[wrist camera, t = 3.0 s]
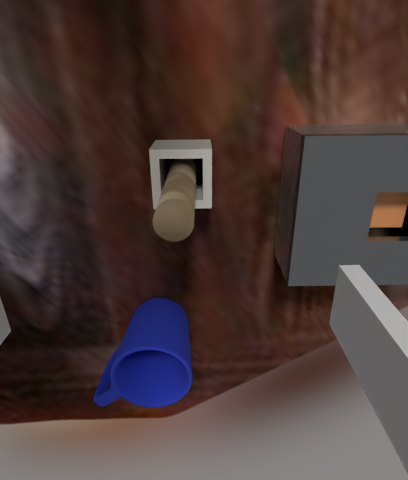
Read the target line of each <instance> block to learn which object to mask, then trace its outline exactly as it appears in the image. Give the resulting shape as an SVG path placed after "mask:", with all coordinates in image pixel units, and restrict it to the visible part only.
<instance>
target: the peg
mask: <svg viewBox="0 0 408 480" xmlns="http://www.w3.org/2000/svg"><path fill="white" fill-rule="evenodd" d="M196 173H197V167H196V164H195V162H194V161H193V160H192V159H175V160H174V161H173V162H172V164H171V167H170V170H169V173H168V176H167V178H166V181H165V184H164V187H163V190H162V193H161V196H160V199H159V202H158V205H157V208H156V211H155V214H154V217H153V227H154V230H155V231H156V233H157V234H158V235H159V236H160V237H161V238H163V239H165V240H167V241H172V242H176V241H181V240H183V239H185V238H187V237H188V236H189V235H190V234H191V232H192V230H193V228H194V214H195V193H196Z"/></svg>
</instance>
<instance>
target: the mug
mask: <svg viewBox="0 0 408 480" xmlns="http://www.w3.org/2000/svg"><path fill="white" fill-rule="evenodd" d="M192 379H193V375H192V361H191V347H190V332H189V321H188V317H187V314H186V312H185V311H184V309H183V308H182V307H181V306H180V305H179V304H178V303H176V302H175V301H173V300H170V299H167V298H153V299H150V300H147V301H145V302H144V303H142V304H141V305H140V306H139V307H138V308H137V309H136V311H135V312H134V314H133V316H132V319H131V321H130V323H129V326H128V328H127V331H126V333H125V335H124V338H123V340H122V343H121V345H120V347H119V348H118V349H117V350H116V351H115V352H114V354H113V355H112V357H111V359H110V360H109V362H108V364H107V366H106V368H105V371H104V373H103V375H102V377H101V380H100V382H99V385H98V387H97V390H96V392H95V395H94V398H93V400H94V402H95V403H96V404H97V405H99V406H101V407H102V406H106V405H108V404H110V403H112V402H114V401H115V400H117V399H119V398H120V397H122V398H124V399H125V400H127V401H129V402H131V403H133V404H136V405H139V406H144V407H163V406H167V405H170V404H173V403H175V402H177V401H179V400H180V399H181V398H183V397H184V396H185V395H186V394H187V392H188V391H189V389H190V387H191V385H192ZM111 383H112V385H113V387H112V388H111V389H109V388H110V385H111Z"/></svg>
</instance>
